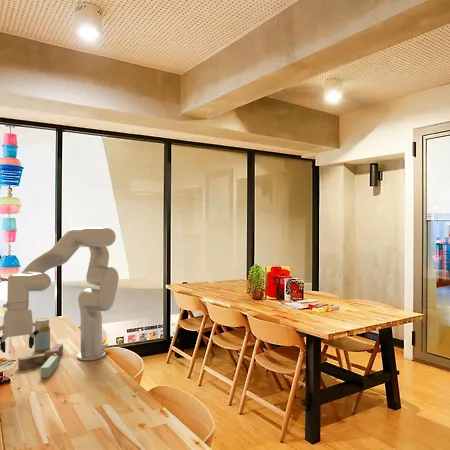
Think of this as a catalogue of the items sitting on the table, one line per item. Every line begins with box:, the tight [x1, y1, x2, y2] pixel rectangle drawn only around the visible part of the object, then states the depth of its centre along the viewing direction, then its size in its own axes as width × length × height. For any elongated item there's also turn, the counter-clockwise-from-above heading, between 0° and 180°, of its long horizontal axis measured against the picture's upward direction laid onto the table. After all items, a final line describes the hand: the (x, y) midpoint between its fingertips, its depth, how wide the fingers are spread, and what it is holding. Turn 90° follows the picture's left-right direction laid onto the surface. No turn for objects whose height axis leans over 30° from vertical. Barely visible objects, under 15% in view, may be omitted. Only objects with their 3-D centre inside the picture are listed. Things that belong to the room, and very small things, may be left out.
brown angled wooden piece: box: [17, 343, 64, 371], centre depth 185 cm, size 25×11×5 cm, turn 158°
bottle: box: [33, 317, 51, 353], centre depth 202 cm, size 7×7×15 cm
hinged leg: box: [40, 353, 59, 379], centre depth 173 cm, size 16×3×5 cm, turn 8°
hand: (17, 349), depth 161 cm, fingers open, 9 cm apart
